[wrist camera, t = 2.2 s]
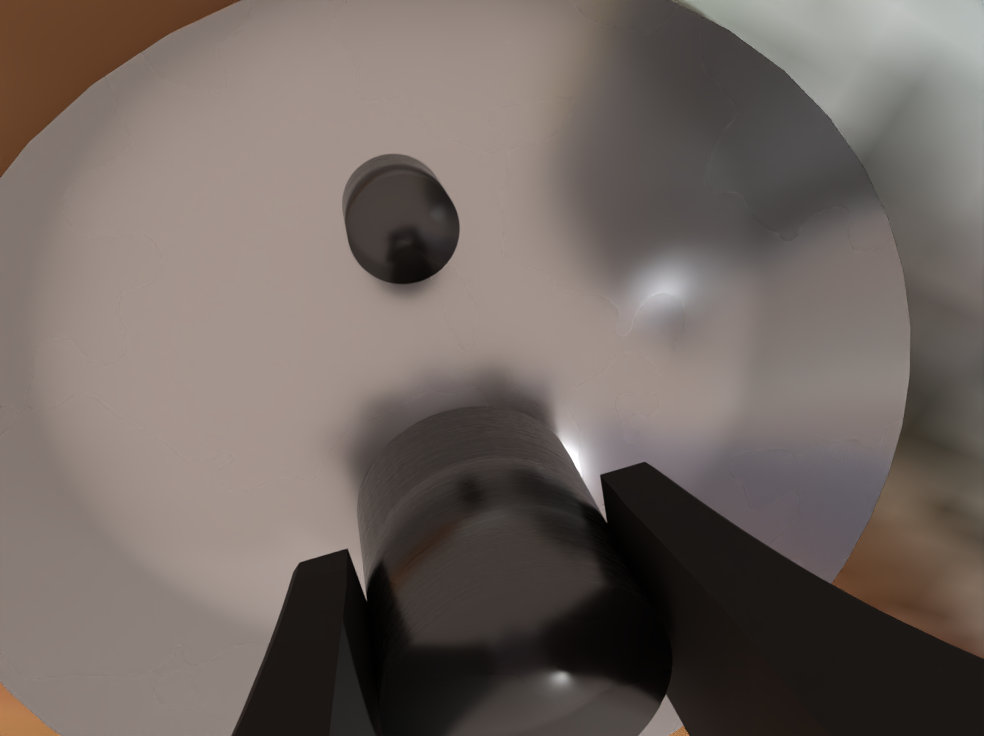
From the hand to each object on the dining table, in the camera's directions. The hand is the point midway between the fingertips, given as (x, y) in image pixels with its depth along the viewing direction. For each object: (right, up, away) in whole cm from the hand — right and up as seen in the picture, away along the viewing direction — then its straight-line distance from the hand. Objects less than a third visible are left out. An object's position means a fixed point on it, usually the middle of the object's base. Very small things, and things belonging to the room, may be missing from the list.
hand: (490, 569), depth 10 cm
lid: (0, +1, +2) cm, 2 cm away
